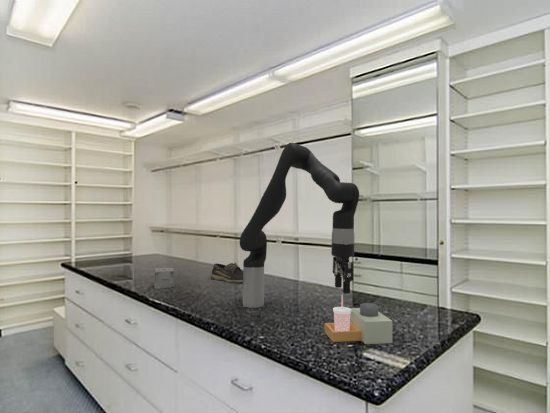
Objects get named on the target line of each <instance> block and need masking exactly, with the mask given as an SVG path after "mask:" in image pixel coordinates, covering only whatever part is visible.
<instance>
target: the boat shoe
mask: <svg viewBox="0 0 550 413" xmlns="http://www.w3.org/2000/svg"><path fill="white" fill-rule="evenodd" d="M210 279H211V280H213V281H224V282H226V283H228V284H229V283H230V284H240V283H243V269H241V267H240V266H239V264H238V263H236V262H234V263H233V262H230V263H228V264H227V265H226V264H222V263H214V264H213V267H212V269H211V274H210Z"/></svg>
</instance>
